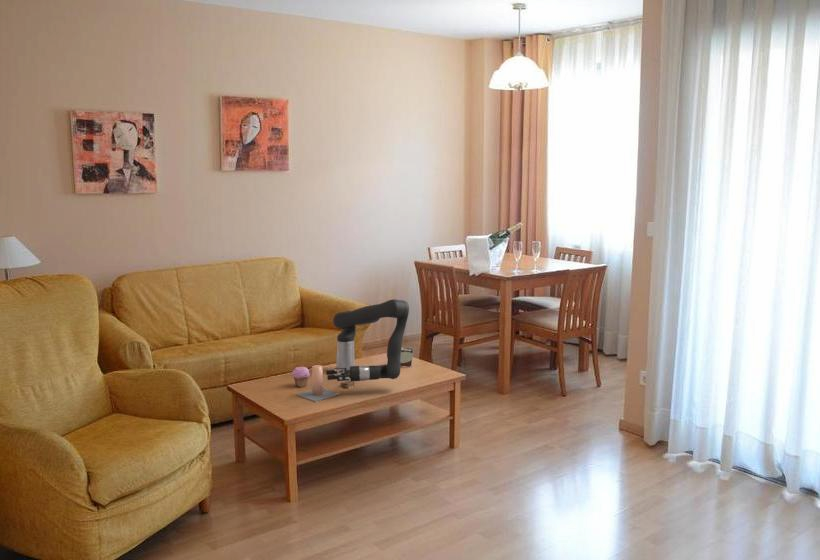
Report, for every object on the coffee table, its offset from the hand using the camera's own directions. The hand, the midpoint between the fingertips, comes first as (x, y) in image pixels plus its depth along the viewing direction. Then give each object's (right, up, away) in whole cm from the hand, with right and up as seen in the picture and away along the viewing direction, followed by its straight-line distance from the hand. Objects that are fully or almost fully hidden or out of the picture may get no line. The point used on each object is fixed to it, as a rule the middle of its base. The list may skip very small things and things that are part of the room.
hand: (326, 375), depth 359 cm
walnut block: (+9, -8, +15) cm, 19 cm away
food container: (+37, -2, +54) cm, 66 cm away
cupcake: (-15, -8, +16) cm, 23 cm away
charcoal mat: (-5, -10, +1) cm, 11 cm away
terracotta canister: (-5, -9, +1) cm, 10 cm away
